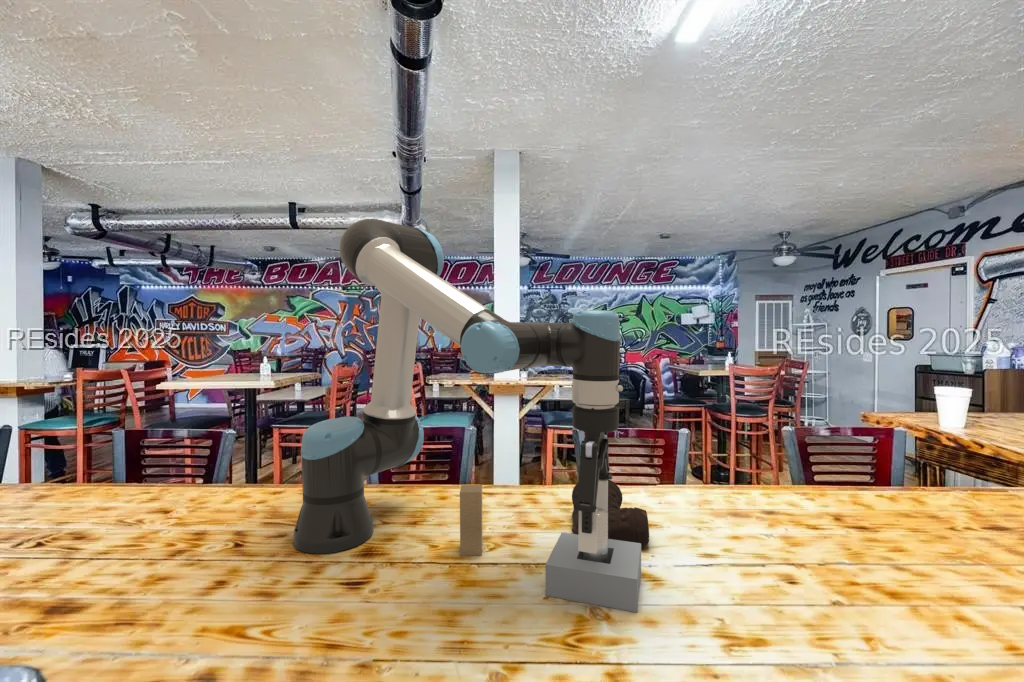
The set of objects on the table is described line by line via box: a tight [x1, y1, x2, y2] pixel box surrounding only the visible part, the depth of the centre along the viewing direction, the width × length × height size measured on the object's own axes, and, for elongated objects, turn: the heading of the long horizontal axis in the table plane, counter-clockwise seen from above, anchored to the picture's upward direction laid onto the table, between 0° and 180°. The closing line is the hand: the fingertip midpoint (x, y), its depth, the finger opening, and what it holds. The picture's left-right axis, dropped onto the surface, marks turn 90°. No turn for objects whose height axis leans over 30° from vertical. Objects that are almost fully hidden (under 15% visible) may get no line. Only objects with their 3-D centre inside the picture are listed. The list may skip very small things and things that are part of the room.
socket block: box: [545, 532, 642, 613], centre depth 77 cm, size 14×12×5 cm
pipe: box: [571, 479, 650, 546], centre depth 96 cm, size 10×15×15 cm
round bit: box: [583, 507, 608, 564], centre depth 77 cm, size 4×4×12 cm
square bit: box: [459, 484, 484, 557], centre depth 88 cm, size 4×4×12 cm
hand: (594, 532), depth 77 cm, fingers open, 13 cm apart
